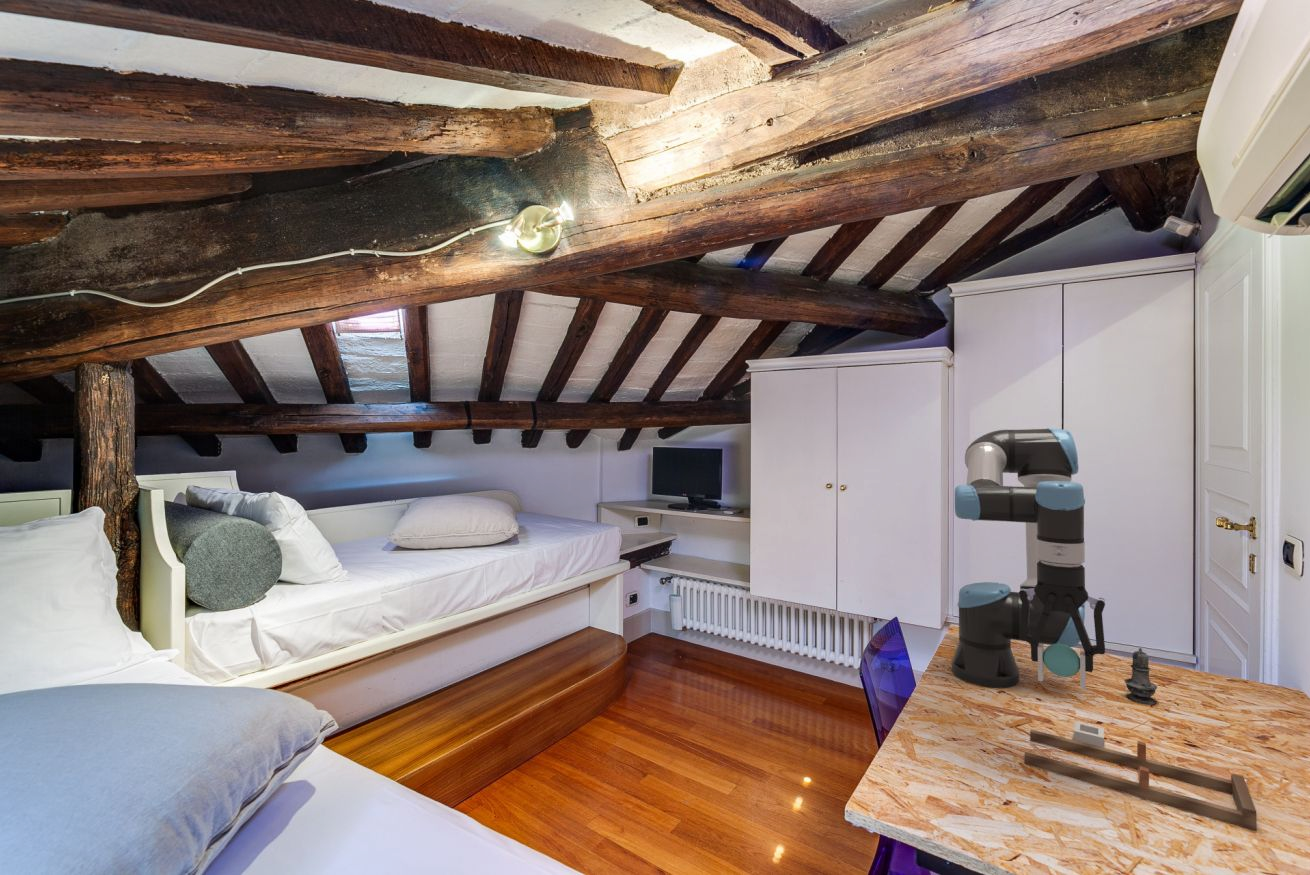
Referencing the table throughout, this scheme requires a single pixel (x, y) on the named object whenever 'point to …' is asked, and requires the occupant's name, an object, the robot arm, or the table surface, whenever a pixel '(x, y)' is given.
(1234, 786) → the lane
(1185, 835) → the table surface
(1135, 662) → the dark grey chess piece
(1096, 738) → the white square frame
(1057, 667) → the ball
